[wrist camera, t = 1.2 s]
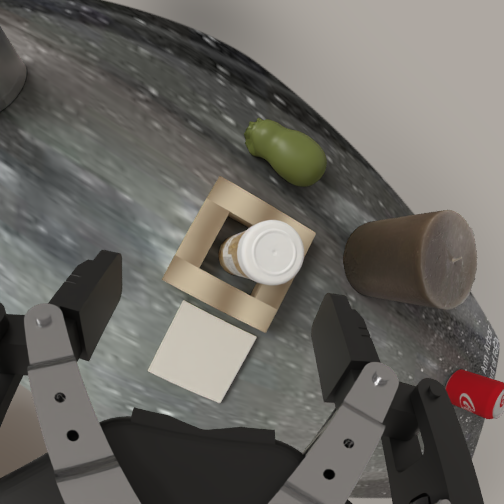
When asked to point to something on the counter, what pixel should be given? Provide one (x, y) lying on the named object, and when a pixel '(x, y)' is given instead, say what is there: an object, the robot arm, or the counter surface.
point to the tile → (201, 352)
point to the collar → (202, 237)
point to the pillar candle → (414, 259)
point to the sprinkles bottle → (263, 253)
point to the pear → (286, 151)
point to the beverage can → (476, 394)
